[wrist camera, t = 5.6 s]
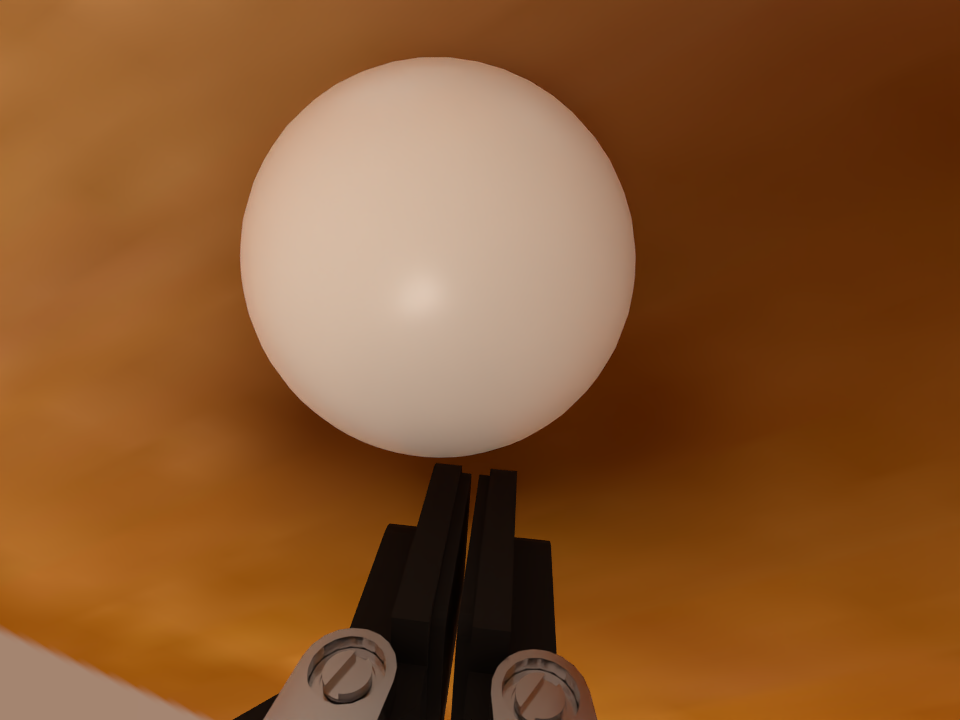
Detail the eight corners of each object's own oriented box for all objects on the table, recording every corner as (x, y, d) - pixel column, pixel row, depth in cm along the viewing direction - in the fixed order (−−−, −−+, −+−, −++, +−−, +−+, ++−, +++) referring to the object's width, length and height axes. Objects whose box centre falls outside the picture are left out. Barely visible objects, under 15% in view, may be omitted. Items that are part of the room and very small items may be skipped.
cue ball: (638, 538, 8) (604, 298, 12) (717, 159, 4) (629, -7, 8) (265, 529, 9) (351, 304, 12) (39, 194, 5) (265, 23, 9)
